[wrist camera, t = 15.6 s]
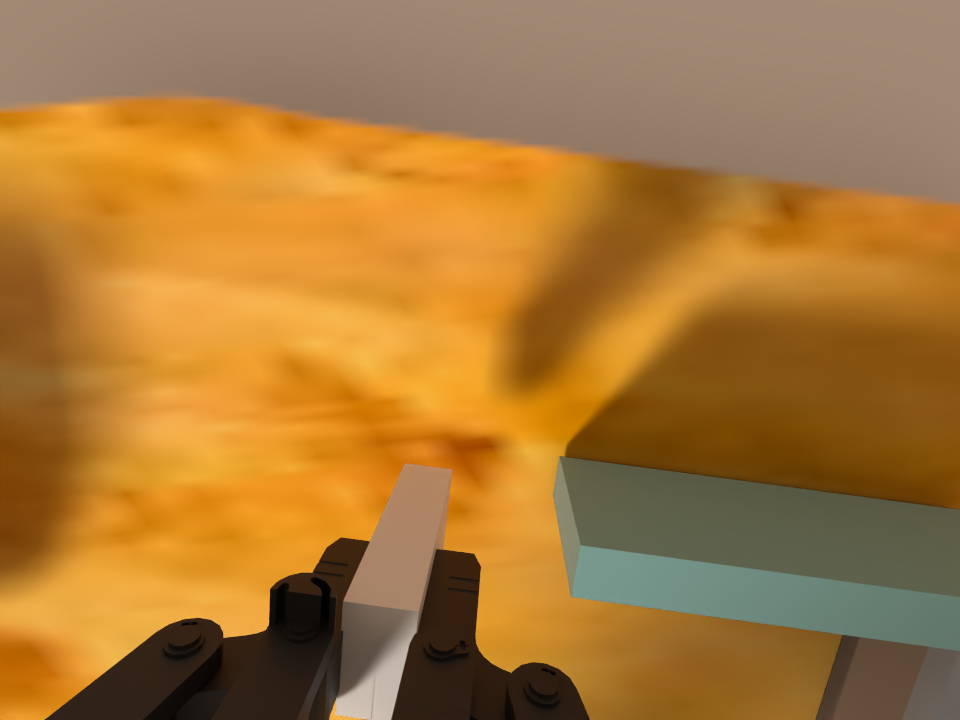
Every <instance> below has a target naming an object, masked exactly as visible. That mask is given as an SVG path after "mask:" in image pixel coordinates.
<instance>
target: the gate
mask: <svg viewBox="0 0 960 720" xmlns="http://www.w3.org/2000/svg"><path fill="white" fill-rule="evenodd" d="M553 497H554V503H555V508H556V514H557V520H558V525H559V531H560V536H561V542H562V548H563V553H564V559H565V565H566V570H567V576H568V582H569V587H570V593H571V597H575V598H582V599H589V600H596V601H604V602H611V603H618V604H625V605H632V606H640V607H647V608H654V609H661V610H668V611H676V612H683V613H690V614H697V615H704V616H712V617H719V618H726V619H733V620H740V621H748V622H755V623H762V624H769V625H776V626H784V627H791V628H798V629H805V630H812V631H820V632H827V633H834V634H841V635H848V636H856V637H863V638H870V639H877V640H884V641H892V642H899V643H906V644H913V645H920V646H928V647H935V648H942V649H949V650H956V651H960V510H958V509H951V508H943V507H936V506H928V505H921V504H913V503H906V502H898V501H891V500H883V499H876V498H868V497H861V496H853V495H846V494H838V493H831V492H823V491H816V490H808V489H801V488H793V487H786V486H778V485H771V484H763V483H756V482H748V481H741V480H733V479H726V478H718V477H711V476H703V475H696V474H689V473H681V472H674V471H666V470H659V469H651V468H644V467H636V466H629V465H621V464H614V463H606V462H599V461H591V460H584V459H576V458H569V457H561V456H560V457H559V463H558V469H557V475H556V481H555V487H554V493H553Z"/></svg>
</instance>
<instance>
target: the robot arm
mask: <svg viewBox="0 0 960 720" xmlns="http://www.w3.org/2000/svg"><path fill="white" fill-rule="evenodd" d="M451 476H452V469H445V468H437V467H429V466H422V465H414V464H406V463H405V465H404V467H403V469H402V471H401V474H400V476H399V478H398V480H397V483H396V485H395V487H394V489H393V491H392V494H391V496H390V498H389V500H388V503H387V505H386V507H385V509H384V511H383V514H382V516H381V518H380V520H379V523H378V525H377V527H376V529H375V531H374V534H373V536H372V538H371V540H370V541H363V540H356V539H348V538H340V539H338V540H337V541H335V542H334V543H333V544H331V545H330V546H328V547H327V548H326V550H325V552H324V553H323V555H322V557H321V559H320V560H319V563H318V564H317V565H316V567H315V569H314V571H313V573H299V574H294V575H290V576H287V577H285V578H283V579H281V580H280V581H278V582H277V583H276V584H275V585H274V586H273V587H272V588H271V589H270V614H269V626H268V627H267V629H266V630H265V631H263V632H260V633H257V634H251V635H246V636H237V637H228V638H223V632H222V630H221V627H220V625H218V624H216V623H215V622H213V621H212V620H208V619H202V618H193V619H184V620H181V621H178V622H175V623H172V624H169V625H168V626H166V627H164V628H163V629H161V630H159V631H158V632H156V633H155V634H153V635H152V636H151V637H150V638H148V639H147V640H146V641H145V642H143V643H142V644H141V645H139V646H138V647H137V648H136V649H134V650H133V651H132V652H131V653H129V654H128V655H127V656H125V657H124V658H123V659H122V660H120V661H119V662H118V663H117V664H115V665H114V666H113V667H111V668H110V669H109V670H108V671H106V672H105V673H104V674H103V675H101V676H100V677H99V678H97V679H96V680H95V681H94V682H92V683H91V684H90V685H88V686H87V687H86V688H85V689H83V690H82V691H81V692H80V693H78V694H77V695H76V696H74V697H73V698H72V699H71V700H69V701H68V702H67V703H66V704H64V705H63V706H62V707H60V708H59V709H58V710H57V711H55V712H54V713H53V714H52V715H50V716H49V717H48V718H46V719H45V720H329V716H330V713H331V711H332V708H333V705H334V703H335V700H336V697H337V700H336V715H340V716H348V717H355V718H362V719H369V720H590V719H589V717H588V714H587V712H586V710H585V707H584V705H583V703H582V700H581V698H580V696H579V693H578V691H577V689H576V687H575V685H574V684H573V682H572V681H571V679H570V678H569V677H568V676H567V675H565V674H564V673H563V672H562V671H560V670H559V669H557V668H555V667H553V666H550V665H548V664H544V663H534V662H533V663H528V664H524V665H521V666H519V667H518V668H517V669H515V670H514V671H513V672H512V673H510V672H507V671H505V670H503V669H500V668H499V667H497V666H495V665H493V664H491V663H490V662H489V661H488V660H487V659H485V658H484V657H483V655H482V654H481V653H480V651H479V649H478V647H477V645H476V639H475V633H476V621H477V608H478V596H479V582H480V571H481V566H480V564H479V562H478V561H477V559H476V557H475V555H474V554H471V553H464V552H456V551H449V550H443V547H444V538H445V529H446V520H447V512H448V503H449V494H450V485H451Z"/></svg>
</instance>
